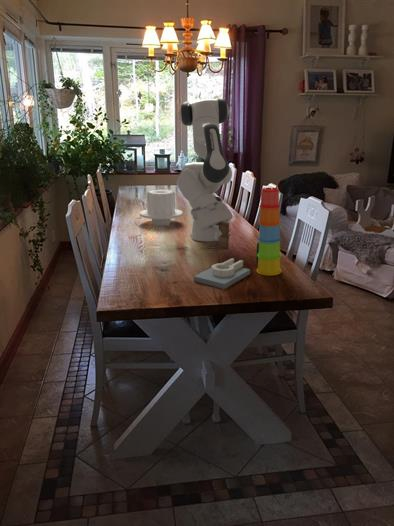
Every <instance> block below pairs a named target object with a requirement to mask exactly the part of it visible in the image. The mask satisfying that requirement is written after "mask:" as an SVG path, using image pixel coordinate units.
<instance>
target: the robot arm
mask: <svg viewBox="0 0 394 526" xmlns="http://www.w3.org/2000/svg"><path fill="white" fill-rule="evenodd" d="M178 112H179V113H178V115H179V119H180V121H181V124H183V125H184V126H188V127H191V126H192V139H193V141H192V142H193V143H192V144H193V150H194V152H195V154H196V155H197V156H198V157H201V159H203V160H204V161H202V162H201V161H192V162H186V163H185V164H183V166H182V168H181V172H179V174H178V175H177V177H176V184H175V185H177V188H178V190H179V191H180V192H181V194H182V195H183V197H184V199H186V200H187V201H188V203H189V205H190V207H191V208H192V209H191V210H190V214H191V216H192V220H193V221H192V230H191V233H190V237H191V239H192V240H193V241H194V240H195V241H198V242H218V236H221V235H223V232H222V230H219V223H220V222H228V223H230V221H231V220H232V219H233V217H234V216H233V214H232V212H231V210H230V209H229V208H228V206H227V205H226V204H225V203H224V202H223V198H222V197H220V196H217V195H216V194H215V193H216V192H217V191H219V189H220V188H221V186H222V185H223V186H224V185H227V184H229V183H230V181H231V180H232V177H233V171H232V168H231V167H230V164H229V161H228V160H227V158H226V156H225V154H224V151H223V144H222V139H221V134H220V124H223V123H225V122H226V121H227V120H228V117H229V115H230V114H229V113H230V108H229V105H228V101H227V100H225V99H223V98H217V99H216V98H203V99H196V100H191V101H189V100H188V101H184V102H182V103H181V104H180V108H179V110H178ZM231 231H232V230H231V229H230V227H229V236H230V232H231Z"/></svg>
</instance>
